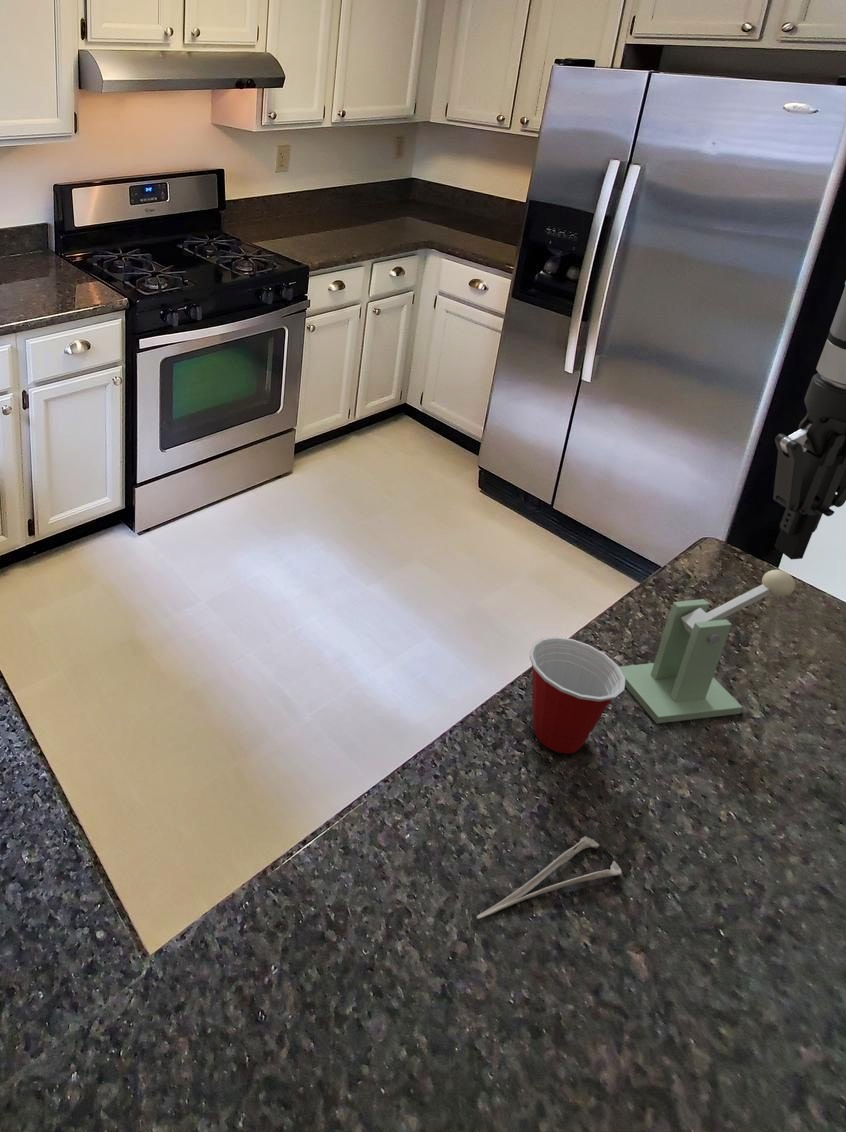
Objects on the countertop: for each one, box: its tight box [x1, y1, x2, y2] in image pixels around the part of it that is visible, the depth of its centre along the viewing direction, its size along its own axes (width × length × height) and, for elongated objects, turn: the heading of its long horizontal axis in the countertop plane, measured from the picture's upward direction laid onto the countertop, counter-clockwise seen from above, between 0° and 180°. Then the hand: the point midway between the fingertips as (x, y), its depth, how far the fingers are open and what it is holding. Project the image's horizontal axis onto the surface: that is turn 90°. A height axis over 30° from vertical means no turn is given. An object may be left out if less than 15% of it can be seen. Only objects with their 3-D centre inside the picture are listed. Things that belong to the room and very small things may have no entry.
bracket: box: [619, 598, 743, 725], centre depth 105 cm, size 12×9×14 cm
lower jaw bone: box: [476, 835, 623, 920], centre depth 84 cm, size 17×5×2 cm, turn 112°
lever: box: [681, 569, 796, 634], centre depth 102 cm, size 14×3×3 cm
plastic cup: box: [528, 636, 626, 754], centre depth 99 cm, size 11×11×12 cm
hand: (788, 552), depth 100 cm, fingers closed
